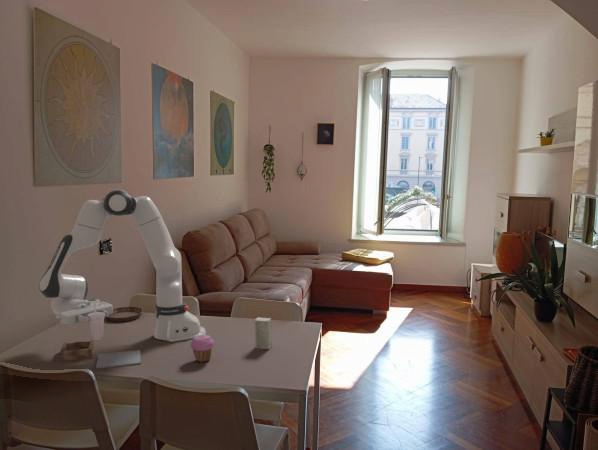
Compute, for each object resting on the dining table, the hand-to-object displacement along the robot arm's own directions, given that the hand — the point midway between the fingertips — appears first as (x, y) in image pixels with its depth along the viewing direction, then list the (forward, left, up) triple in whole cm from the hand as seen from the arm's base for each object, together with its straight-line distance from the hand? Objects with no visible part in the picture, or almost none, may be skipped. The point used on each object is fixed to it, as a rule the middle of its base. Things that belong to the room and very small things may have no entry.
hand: (97, 317), depth 204 cm
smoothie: (+1, -1, -9) cm, 9 cm away
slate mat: (-7, +3, -17) cm, 19 cm away
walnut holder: (+9, -8, -17) cm, 20 cm away
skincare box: (-64, +6, -17) cm, 67 cm away
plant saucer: (-8, -56, -17) cm, 59 cm away
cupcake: (-38, +13, -17) cm, 44 cm away
